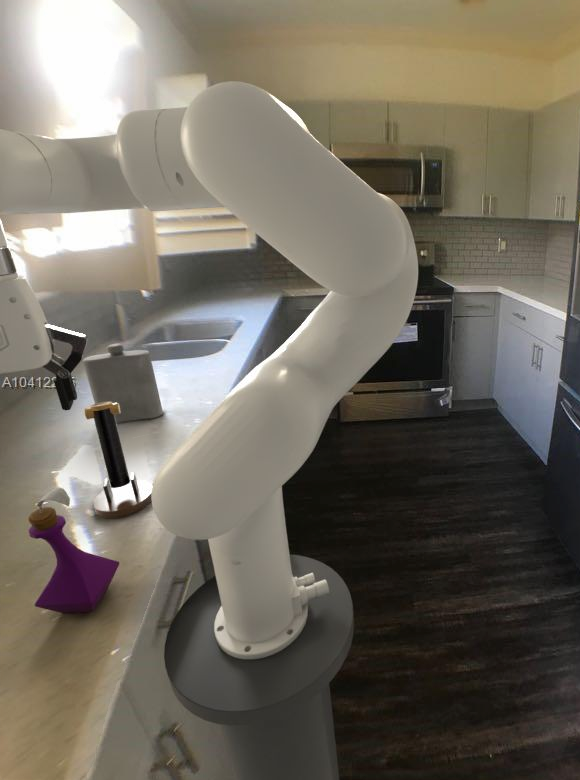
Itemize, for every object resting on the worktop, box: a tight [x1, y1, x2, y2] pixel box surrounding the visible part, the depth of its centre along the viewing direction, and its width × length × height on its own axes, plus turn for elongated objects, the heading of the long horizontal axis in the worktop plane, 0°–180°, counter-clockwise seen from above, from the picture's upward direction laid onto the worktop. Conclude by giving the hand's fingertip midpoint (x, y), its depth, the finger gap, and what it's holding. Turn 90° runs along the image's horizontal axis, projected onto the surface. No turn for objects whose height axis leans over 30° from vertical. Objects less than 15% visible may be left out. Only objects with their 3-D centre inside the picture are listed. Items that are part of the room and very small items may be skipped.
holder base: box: [92, 471, 153, 519], centre depth 85 cm, size 10×10×5 cm
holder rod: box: [84, 402, 131, 488], centre depth 83 cm, size 16×5×3 cm
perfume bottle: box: [27, 486, 120, 614], centre depth 61 cm, size 8×8×18 cm
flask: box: [82, 343, 164, 424], centre depth 118 cm, size 15×6×20 cm, turn 110°
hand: (21, 414), depth 54 cm, fingers open, 9 cm apart
